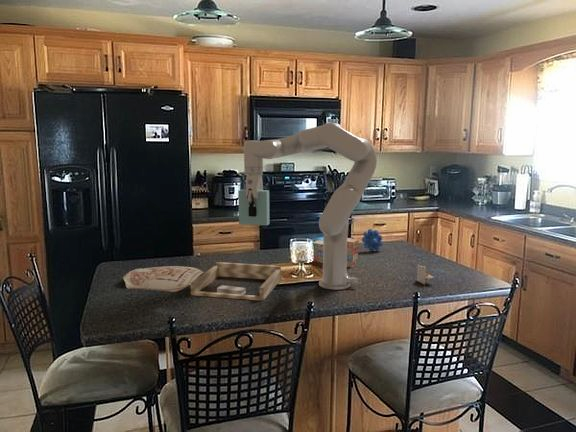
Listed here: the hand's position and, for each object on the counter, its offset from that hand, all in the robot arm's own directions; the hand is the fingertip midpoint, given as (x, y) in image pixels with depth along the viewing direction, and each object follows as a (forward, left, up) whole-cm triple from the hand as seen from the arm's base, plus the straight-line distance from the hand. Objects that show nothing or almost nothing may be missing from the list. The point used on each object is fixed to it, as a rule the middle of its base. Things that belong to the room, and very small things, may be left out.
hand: (254, 214), depth 201 cm
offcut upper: (+2, +24, -26) cm, 35 cm away
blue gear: (-46, -58, -27) cm, 79 cm away
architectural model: (-69, -10, -28) cm, 75 cm away
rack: (+2, +16, -27) cm, 32 cm away
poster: (+36, +10, -28) cm, 47 cm away
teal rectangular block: (0, 0, -4) cm, 4 cm away
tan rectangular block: (-29, -32, -28) cm, 52 cm away
